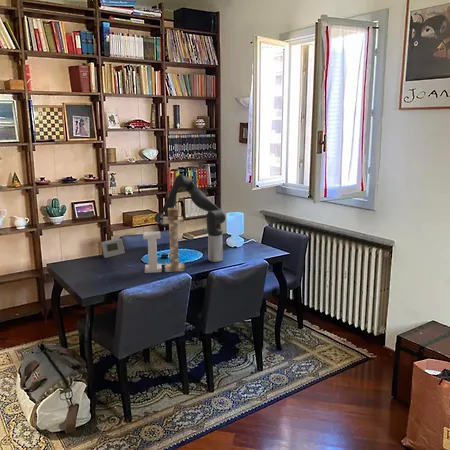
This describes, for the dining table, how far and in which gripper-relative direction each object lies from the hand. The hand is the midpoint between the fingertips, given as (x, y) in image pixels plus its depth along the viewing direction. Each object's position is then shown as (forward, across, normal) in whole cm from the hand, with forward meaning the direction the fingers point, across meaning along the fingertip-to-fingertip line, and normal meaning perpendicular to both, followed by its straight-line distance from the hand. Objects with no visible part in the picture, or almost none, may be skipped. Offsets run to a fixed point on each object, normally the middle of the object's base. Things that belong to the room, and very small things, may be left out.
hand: (170, 218), depth 299 cm
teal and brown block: (+15, -2, -1) cm, 15 cm away
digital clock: (-28, -35, +24) cm, 51 cm away
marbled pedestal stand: (+14, -1, +31) cm, 34 cm away
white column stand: (+11, -14, +31) cm, 36 cm away
